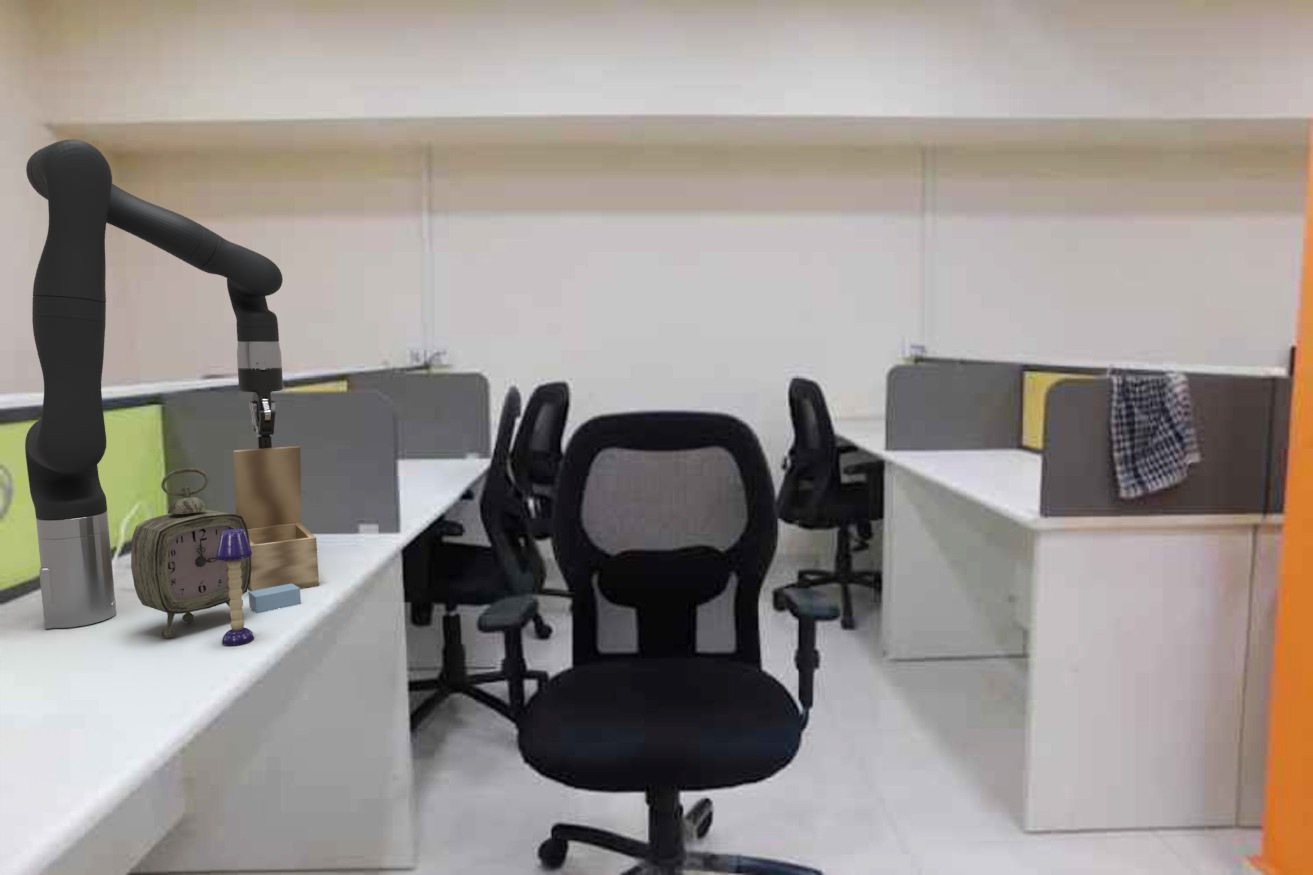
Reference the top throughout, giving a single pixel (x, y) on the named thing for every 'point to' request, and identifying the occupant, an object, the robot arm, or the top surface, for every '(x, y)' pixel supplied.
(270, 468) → the lid
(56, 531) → the robot arm
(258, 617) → the top surface
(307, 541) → the crate
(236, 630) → the toy lamp
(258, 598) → the light blue block
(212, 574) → the tabletop clock
